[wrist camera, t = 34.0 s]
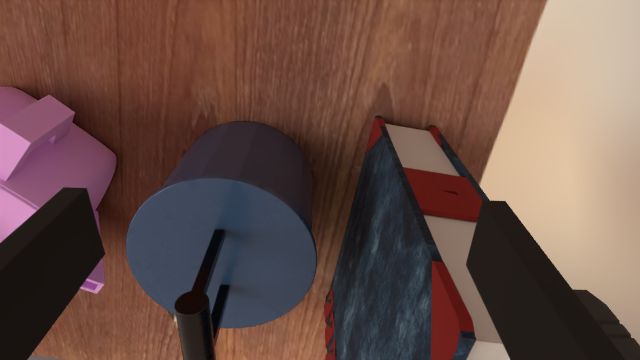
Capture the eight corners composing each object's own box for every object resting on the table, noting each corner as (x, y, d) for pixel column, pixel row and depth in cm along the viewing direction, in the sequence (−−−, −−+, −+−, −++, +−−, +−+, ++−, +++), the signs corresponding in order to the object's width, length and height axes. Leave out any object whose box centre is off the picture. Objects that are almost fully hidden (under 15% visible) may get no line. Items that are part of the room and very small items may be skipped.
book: (374, 320, 49) (423, 609, 27) (317, 313, 48) (321, 603, 26) (441, 125, 37) (621, 355, 15) (368, 112, 37) (448, 333, 15)
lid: (320, 173, 27) (322, 260, 19) (313, 319, 34) (312, 430, 26) (116, 166, 27) (30, 252, 19) (148, 315, 33) (94, 426, 25)
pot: (314, 123, 37) (313, 183, 27) (310, 236, 43) (308, 320, 33) (175, 118, 37) (122, 177, 27) (190, 232, 43) (151, 316, 33)
